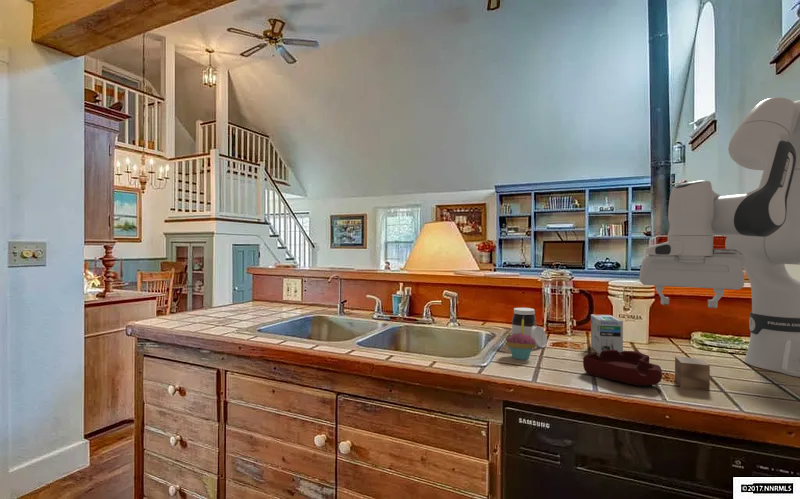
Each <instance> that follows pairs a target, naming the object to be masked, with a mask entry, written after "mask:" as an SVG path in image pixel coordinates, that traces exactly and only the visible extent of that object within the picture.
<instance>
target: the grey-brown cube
mask: <svg viewBox="0 0 800 499" xmlns="http://www.w3.org/2000/svg"><path fill="white" fill-rule="evenodd" d="M710 368H711V366H710V364H709V363H708V362H707V361H705V360H704V359H703V358H697V357H696V358H695V357H684V356H674V381H675V382H676V383H677V385H678V386H679V387H680V388H681V389H686V390H687V389H689V390H697V391H706V392H710V391H711V390H710V386H711V383H710V381H711V379H710V376H711V373H710V371H711V369H710Z"/></svg>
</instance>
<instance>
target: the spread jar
mask: <svg viewBox="0 0 800 499" xmlns="http://www.w3.org/2000/svg"><path fill="white" fill-rule="evenodd" d="M535 314H536V312H535V309H534V308H531V307H514V308H513V315H512V320H511V335H512V334H515V333H517V334H518V333H519V334H520V333H521V327H522V319H524V332H523V334H526V335H529V336H531V337H533V339H535V343H536V347H535V348H537V349H541V348H545V347H547V344H548V339H547V334H546V331H545V330H544V328H543V327H541V326H539V325H538V326H537V317H536V316H535ZM523 316H524V318H523Z"/></svg>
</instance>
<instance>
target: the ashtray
mask: <svg viewBox="0 0 800 499" xmlns="http://www.w3.org/2000/svg"><path fill="white" fill-rule="evenodd" d="M582 364H583V365H582V366H583V369H584V371H585V373H587V374H588V375H590V376H594V377H597V378H602V379H606V380H612V381H616V382H620V383H625V384H628V385H634V386H637V387H639V386H640V388H643V389H652V388H653V386H655V385H658V384H659V383H660V382H661V380H662V379H663V372H662V368H661V366H660V365H658V364H655V363H652V362H651V363H650V356H649V355H648V354H645V353H642V352H640V351H636V350H623V352H618V350H605V351H602V352H601V353H600V354H598V352H592V353H591V352H590V353H588V354H585V355H584V356H583V360H582Z"/></svg>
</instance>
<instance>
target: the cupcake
mask: <svg viewBox="0 0 800 499" xmlns="http://www.w3.org/2000/svg"><path fill="white" fill-rule="evenodd" d="M523 318H524V316H523ZM523 332H524V319H522V327H521V333H520V334H519V333H518V334H517V333H515V334H512V333H511V334H510V335H509V336H508V337H507V338H506V340H505V345H506V346H507V347H508V348H509V350H510V351H509V352H510V353H511V356H512V358H513V359H516V360H523V361H524V360H528V359H529V358H530V356H531V354H532V353H531V352H532V350H533V349H535V348H537V347H536V343H535V339H533V337H531V336H529V335H526V334H523Z"/></svg>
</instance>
